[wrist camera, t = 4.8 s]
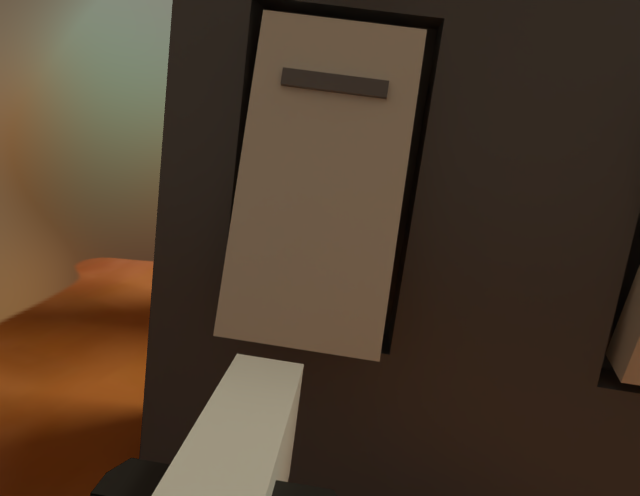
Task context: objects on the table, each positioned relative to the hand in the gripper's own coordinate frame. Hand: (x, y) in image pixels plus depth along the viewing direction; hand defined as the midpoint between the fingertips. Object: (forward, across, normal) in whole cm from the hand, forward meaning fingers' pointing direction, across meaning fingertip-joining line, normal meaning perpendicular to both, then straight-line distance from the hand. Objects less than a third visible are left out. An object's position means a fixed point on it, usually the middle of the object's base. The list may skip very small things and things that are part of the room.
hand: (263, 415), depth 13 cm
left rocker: (+5, 0, 0) cm, 5 cm away
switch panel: (+15, +7, -7) cm, 18 cm away
